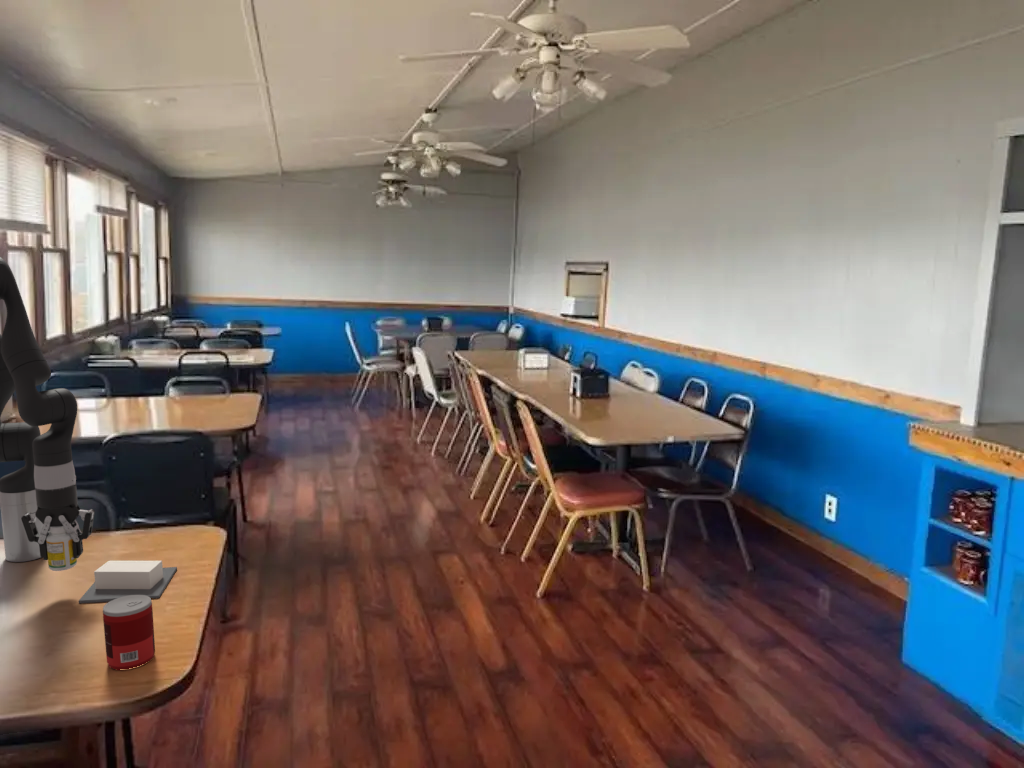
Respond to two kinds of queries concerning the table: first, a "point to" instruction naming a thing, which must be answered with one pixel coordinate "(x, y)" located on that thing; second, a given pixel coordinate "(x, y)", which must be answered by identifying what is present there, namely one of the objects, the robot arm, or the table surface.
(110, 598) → the mat
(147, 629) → the canned food
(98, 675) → the table surface
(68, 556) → the supplement bottle
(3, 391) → the robot arm
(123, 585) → the riser block
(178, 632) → the table surface
